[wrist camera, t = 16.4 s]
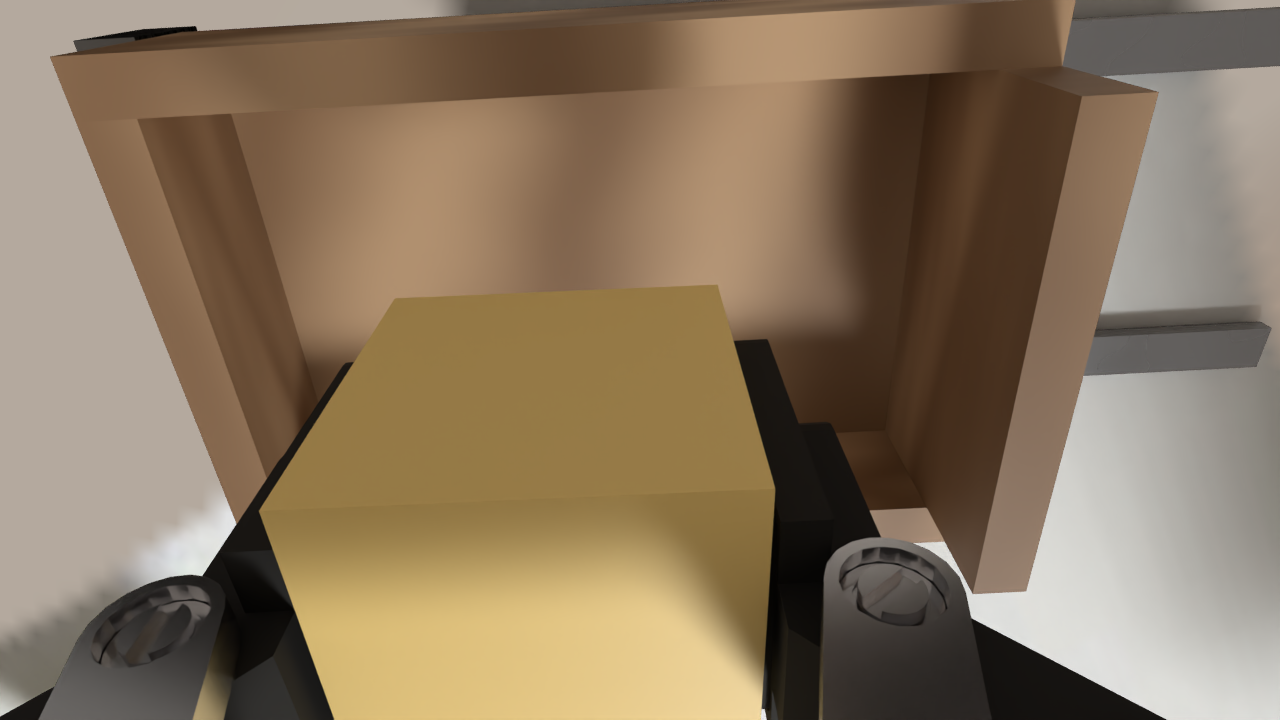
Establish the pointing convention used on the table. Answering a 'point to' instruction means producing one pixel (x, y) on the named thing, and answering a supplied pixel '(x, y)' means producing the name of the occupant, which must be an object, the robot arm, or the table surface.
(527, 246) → the wooden crate
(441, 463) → the block
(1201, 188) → the table surface
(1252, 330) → the rail
